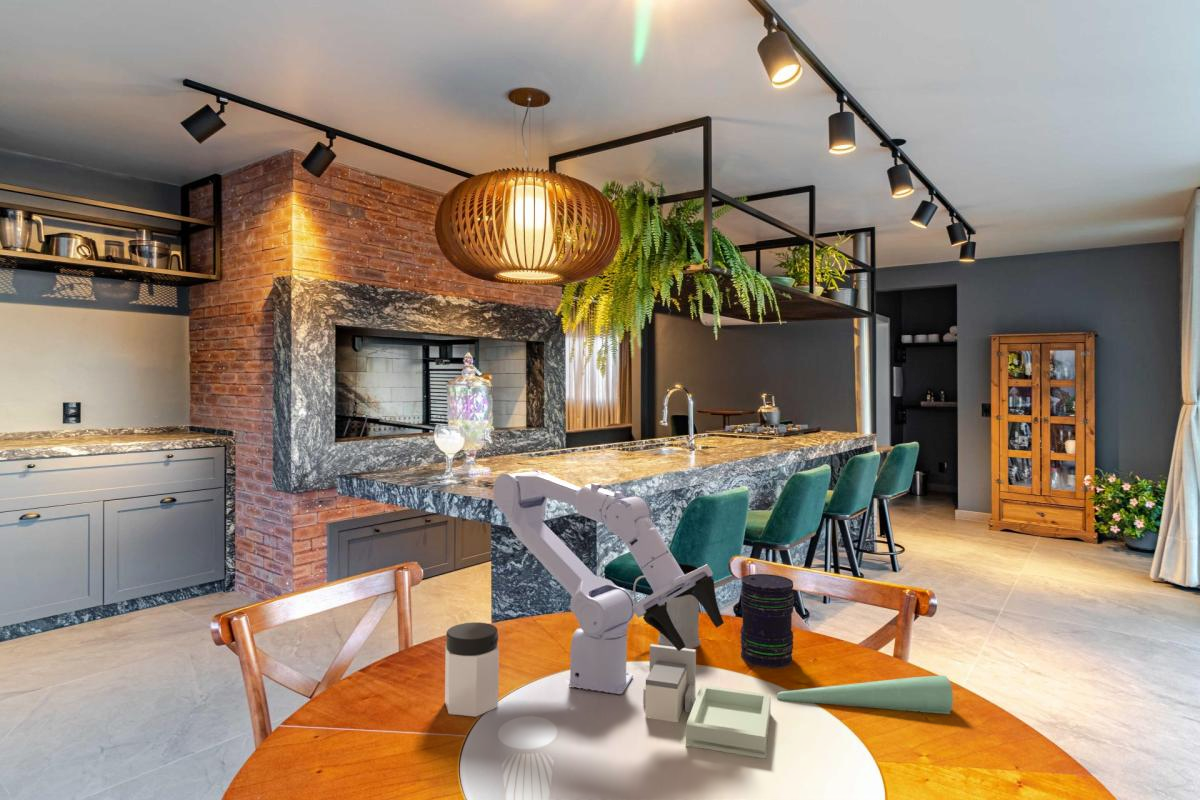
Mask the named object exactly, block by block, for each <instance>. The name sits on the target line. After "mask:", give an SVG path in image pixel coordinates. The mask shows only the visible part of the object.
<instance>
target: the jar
mask: <svg viewBox="0 0 1200 800" xmlns="http://www.w3.org/2000/svg"><path fill="white" fill-rule="evenodd" d="M498 631H499V630H498V628H497V627H496V626H495V625H493V624H490V623H487V622H477V621H476V622H464V623H460V624H457V625H454V626H451V627H449V628H448V629H447V631H446V638H445V639H446V644H445V653H444V655H445V662H444V663H445V665H444V667H445V668H444V672H445V673H444V674H445V675H444V676H445V678H444V703H445V706H446V710H447V712H448V715H452V716H462V717H463V716H465V717H473V718H475V717H479V716H481V715H483V714H485V713H487V712H490V711H492V710H494V709H496V708H498V707H499V682H500V681H499V675H500V674H499V672H500V671H499V670H500V669H499V668H500V666H499V665H500V664H499V663H500V661H499V660H500V649H499V647H498V642H499V634H498V633H499V632H498Z"/></svg>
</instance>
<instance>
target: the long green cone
mask: <svg viewBox="0 0 1200 800" xmlns="http://www.w3.org/2000/svg"><path fill="white" fill-rule="evenodd" d="M953 693H954V692H953V688H952V685H951V682H950V680H949V678H948V677H947V676H946V675H929V676H927V675H926V676H925V675H924V676H915V677H914V676H913V677H906V678H905V677H904V678H894V679H886V680H885V679H884V680H878V681H866V682H860V683H859V682H857V683H849V684H838V685H829V686H820V687H819V686H818V687H810V688H802V689H800V688H799V689H793V690H792V689H791V690H784V691H779V692H777V694H776V699H777V698H778V700H780V699H784V700H783V701H788V700H793V701H792V702H799V701H805V702H804V703H811V702H812V703H814V704H826V705H836V706H848V707H861V708H874V709H884V710H885V709H886V710H896V711H906V710H907V712H908V711H909V712H918V711H920V713H930V714H931V713H932V714H944V715H946V714H947V715H950V714H951V711H952V710H953V705H954V696H953Z"/></svg>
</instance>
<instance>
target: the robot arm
mask: <svg viewBox="0 0 1200 800" xmlns="http://www.w3.org/2000/svg"><path fill="white" fill-rule="evenodd" d="M547 499H552V500H555V501H558V502H562V503H565V504H568V505H572V506H574V507H575V509H576V512H577V513H578V515H580V516H581V517H582V516H583V517H585V518H588V519H590V520H593V521H595V522H598V523H600V524H603V525H606V527H607V529H608V530H609V531H610V532H611V533H613V534H614V535H616V536H618V537H619V538H620V540H621V541H622V543H624V544H625V545H626V547H627V549H628V550H629V552H630V554H631V556H632V557H633V559H634V561H635V562H636V564H637V565H638V567H639V568H640V570H641V572H642V574H643V576H645V578H644V579H646V581H647V583H648V584H649V586H650V589H652V593H651V594H650V595H648V596H646V597H645V598H643V599H641V600H640V601H637V603H635V600H634V596H632V594H631V593H630V592H629V591H628V590H627V589H625V588H624V587H619V586H618V585H616V584H615V583H614V582H613V581H612V580H611V579H608V578H604V577H600V576H598V575H595V574H594V572H592V570H590V569H589V568H588V567H587V565H585V563H584V562H582V560H581V559H580V558H579V557H578V556H577V555H576V554H575V553H574V552H573V550H571V549H570V548H569V547H568V546H567V545H566V544H565V542H564V541H562V540H561V539H560V537H558V536H557V535H556V534H555V533H554V531H552V530H551V528H550V527H549V526H547V524H546V523H545V522H544V521H543V519H542V518H543V517H544V515H545V512H546V505H547V502H548V500H547ZM493 504H494V505H495V506H496V507H497V508H498V509H499V511H501V512H502V513H503V515H504V516H505V518H506V520H507V523H508V524H509V527H510V529H511V530H512V533H513V534H514V536H516V538H517V539H518V540H519V541H520V542H521V543H522V544H523V545H524V546H525V547H526V548H527V550H528V551H529V552H530V553H531V554H532V555H533V556H534V557H535V559H537V561H539V562H540V563H541V564H542V566H543V567H544V568H545V570H547V571H548V572H549V573H550V575H552V576H553V578H555V580H556V581H557V582H558V583H559V584H560V585H561V586H562V588H563V589H565V590H566V592H567V593H568V594H569V595H570V596H571V600H570V605H569V606H570V607H569V610H570V611H571V612H572V613H573V615H574V616H575V618H576V619H577V622H578V626H579V627H580V628H579V627H578V628H576V629H575V631H574V632H573V635H572V638H571V644H570V664H569V665H570V670H569V671H570V673H569V674H570V675H569V677H570V678H569V681H570V682H569V683H568V686H569V687H570V686H571V687H570V688H574V687H577V689H581V688H583V689H582V690H588V689H591V690H590V691H595V690H599V691H598V692H601V691H604V693H608V692H610V693H609V694H615V693H617V694H616V695H622V694H623V693H624V692H625V689H626V688H627V687H628V685H629V683H630V682H631V680H632V679H633V677H634V674H633V673H631V672H627V658H628V656H627V652H628V651H627V650H628V649H627V643H628V636H627V635H628V634H627V633H628V629H629V623H630V621H632V619H633V618H634V616H635V615H636V616H637V618H638V619H639V618H641V617H642V618H643V619H642V620H643V621H645V623H646V624H647V625H650V627H652V628H654V629H655V630H656V631H658V633H659V632H660V633H662V634H663V635H664V636H665V637H666V638H667V639H668V640H669V641H670V642H671V643H672V644H673V645H674V646H675V648H676V649H677V650H678V651H680V650H681V649H683V648H684V647H686V646H685V644H684V642H683V640H682V638H681V637H680V635H679V633H678V632H677V630H676V629H675V627H674V625H673V623H672V621H671V619H670V617H669V614H668V612H667V610H666V607H665V605H661V604H663V603H665V602H666V601H668V600H670V599H672V598H674V597H675V596H677V595H679V594H681V593H682V592H684V591H686V590H688V589H689V588H691V587H693V586H694V591H693V592H692V594H693V595H694V597H695V598H696V599H697V600H698V601H699V603H700V604H699V605H701V606H702V608H703V609H704V611H705V612H706V614H707V616H708V617H709V620H710V621H711V623H712V624H713V625H714V626H715V628H719V627H721V626H722V625H723V624H724V623H725V622H724V619H723V617H722V613H721V612H720V609H719V605H718V601H717V595H716V592H715V591H716V590H715V589H716V588H715V581H714V578H713V575H714V572H713V571H712V569H711V567H710V566H709V564H707V563H706V564H705V565H702V566H701V567H697V568H698V569H696V570H694V571H692V572H690V573H688V574H686V575H684V573H683V571H682V570H681V568H680V567H679V565H678V564H679V563H678V561H677V560H676V558H675V557H674V555H673V554H672V552H671V550H670V548H669V547H668V545H667V544H666V542H665V541H664V539H663V538H662V535H661V533H660V532H659V531H658V529H657V527H656V525H655V524H654V522H653V520H651V519H652V508H651V506H650V504H649V502H648V501H647V500H646V499H645V498H643V497H641V496H640V495H638V494H633V495H630V496H628V497H626V496H625V495H624V494H623V492H622V491H619V490H616V491H611V490H609V489H605V488H602V484H601V483H599V482H591V484H590V483H589V484H586V485H584V486H583V487H580V486H578V485H576V484H572V483H570V482H568V481H566V480H563V479H561V478H558V477H555V476H553V475H552V474H550V473H548V472H544V471H540V470H538V469H534V470H530V471H524V472H516V473H506V472H505V473H502V474H499V475H498V476H497V478H496V479H495V480H494V483H493ZM688 584H689V585H688ZM687 585H688V586H687ZM685 586H686V587H685ZM680 587H682V589H680V590H679V591H677V592H675V593H673V594H672V595H670V596H668V597H666V598H665V599H663V598H664V597H665V596H666V595H668V594H670V593H672V592H673V591H675V590H677V589H678V588H680ZM683 587H684V588H683ZM653 591H654V593H653ZM662 599H663V600H662ZM660 600H661V601H660ZM660 605H661V606H660ZM643 615H644V616H643Z"/></svg>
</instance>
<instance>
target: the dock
mask: <svg viewBox="0 0 1200 800" xmlns="http://www.w3.org/2000/svg"><path fill="white" fill-rule="evenodd" d="M656 661H664V662H672V663H680V664H687V673H686V694H685V704H684V712H689V713H691V710H692V708H693V705H694V702H695V700H696V682H697V681H696V679H697V678H696V675H697V674H696V672H697V669H696V667H697V666H696V664H697V663H696V662H697V649H695V648H691V649H687V648H683V649H681V650H680V651H678V650H677V649H676V648H675V647H671V646H663V645H661V644H653V643H651V644H650V645H649V672H650V671H651V670H652V668H653V666H654V665H655V663H656ZM642 690H643V693H642V695H643V697H642V700H643V701H642V702H643V703H642V704H645V700H646V685H644V688H643V689H642Z"/></svg>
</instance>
